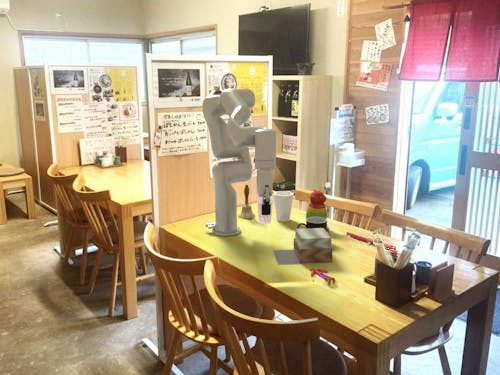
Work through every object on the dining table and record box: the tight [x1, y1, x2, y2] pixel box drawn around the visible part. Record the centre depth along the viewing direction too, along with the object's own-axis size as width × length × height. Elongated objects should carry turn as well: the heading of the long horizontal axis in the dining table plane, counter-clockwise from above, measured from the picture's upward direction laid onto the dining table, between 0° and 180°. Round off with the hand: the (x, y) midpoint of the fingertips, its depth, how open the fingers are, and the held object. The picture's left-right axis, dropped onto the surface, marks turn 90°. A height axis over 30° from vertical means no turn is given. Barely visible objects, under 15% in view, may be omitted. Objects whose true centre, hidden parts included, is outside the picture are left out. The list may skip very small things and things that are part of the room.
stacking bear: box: [305, 189, 330, 233], centre depth 203 cm, size 11×10×18 cm
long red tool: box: [346, 231, 397, 251], centre depth 187 cm, size 24×2×5 cm
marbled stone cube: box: [293, 228, 333, 263], centre depth 170 cm, size 12×12×9 cm
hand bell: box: [238, 184, 256, 220], centre depth 221 cm, size 8×8×16 cm
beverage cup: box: [256, 194, 274, 225], centre depth 164 cm, size 6×6×14 cm
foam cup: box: [273, 190, 294, 223], centre depth 216 cm, size 10×9×13 cm
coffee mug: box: [296, 217, 328, 230], centre depth 186 cm, size 12×9×10 cm
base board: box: [272, 248, 334, 266], centre depth 170 cm, size 20×14×1 cm
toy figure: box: [308, 267, 336, 286], centre depth 154 cm, size 8×12×3 cm
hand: (264, 211), depth 165 cm, fingers closed on beverage cup, 6 cm apart
